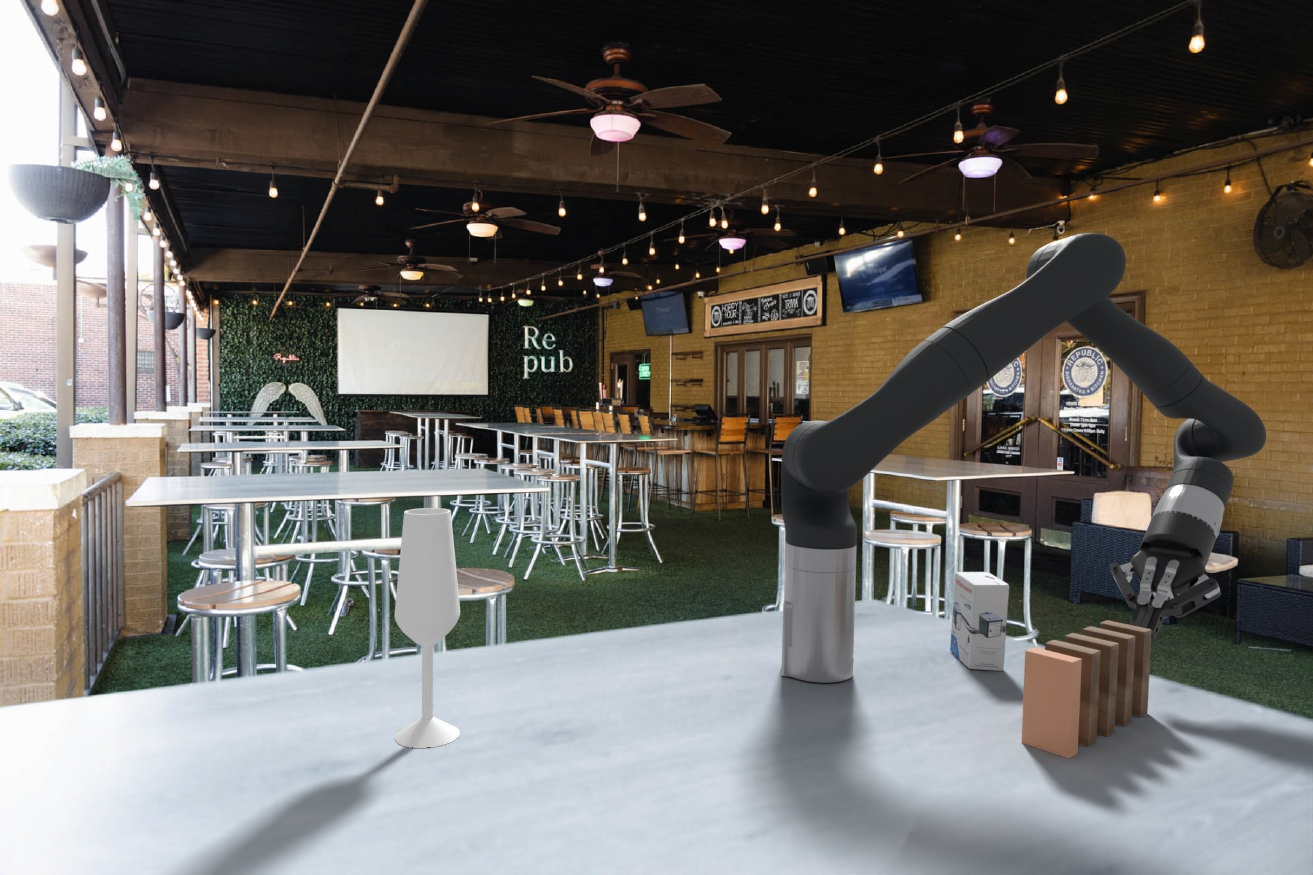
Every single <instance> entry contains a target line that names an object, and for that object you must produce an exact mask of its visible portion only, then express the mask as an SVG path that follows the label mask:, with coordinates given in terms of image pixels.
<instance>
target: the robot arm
mask: <svg viewBox="0 0 1313 875" xmlns="http://www.w3.org/2000/svg"><path fill="white" fill-rule="evenodd" d="M1126 266H1127V258H1126V254H1125V250H1124V248H1123V247H1122V245H1121V244H1120V243H1119V241H1117V239H1115V238H1114V237H1111V236H1109V235H1107V234H1104V233H1100V232H1083V233H1077V234H1074V235H1071V236H1068V237H1064V238H1062V239H1058V240H1055V241H1053V242H1052V241H1051V242H1049V243H1047V244H1045V245H1044V246H1042V247H1039V248H1038V249H1037V250H1036V251H1035V252H1034V253H1033V254H1032V256H1031V257H1030V260H1029V261H1028V263H1027V266H1026V279H1025V280H1024V281H1023V282H1022V283H1020V284H1019V285H1017V286H1016V287H1014V288H1012V289H1010V290H1009V291H1007V292H1004V293H1003V294H1001V295H999V296H996V297H995V298H993V299H990V300H988V301H986V302H985V303H982V304H980V305H978V306H976V307H974V308H972V309H971V310H969V311H967V312H965V313H963V314H961V315H960V316H957V317H956V318H955V319H953V320H951V321H949V322H947V323H946V324H944V325H943V326H942V327H940V328H939V329H938V330H936V331H934V332H933V333H932V334H931V335H929V336H928V337H927V338H925V339H924V340H923V341H921V342H920V343H918V344H917V346H915V347H914V348H912V350H911V351H910V352H908V354H907V355H905V357H904V358H902V359H901V361H900V362H899V363H898V364H897V365H896V367H895V368H894V369H893V371H892V372H891V373H890V375H889V376H888V377H887V378H886V379H885V381H884V382H883V383H882V384H881V386H880V387H878V389H876V390H875V391H874V392H872V394H871V395H869V396H868V397H866V398H865V399H864V400H862V401H861V402H859V403H857V404H856V405H855V406H853V407H851V408H850V409H848V410H846V411H845V412H844V413H842V414H840V415H838V416H836V417H834V418H832V419H830V420H829V421H827V420H810V421H809V420H808V421H806V422H803V423H800V424H798V425H797V426H795V427H794V428H793V429H792V430H791V432H790V433H789V435H788V436H787V437H786V439H785V442H784V445H783V447H782V448H783V449H782V452H781V454H782V455H781V468H780V469H781V471H780V472H781V474H780V476H781V477H780V478H781V479H780V480H781V483H780V486H781V490H780V491H781V493H780V494H781V516H782V520H783V525H784V532H785V533H784V534H785V536H784V537H785V538H784V539H785V540H784V541H785V543H784V544H785V545H784V546H785V548H784V578H783V579H784V581H783V582H784V583H783V584H784V586H783V605H782V633H781V634H782V635H781V636H782V638H781V639H782V640H781V641H782V643H781V676H783V677H788V678H789V677H790V678H793V679H797V680H801V681H805V682H810V683H811V682H812V683H827V684H828V683H838V682H839V683H840V682H843V681H847V680H849V679H851V678H852V677H853V675H854V661H855V657H854V646H855V619H856V618H855V615H856V614H855V612H856V611H855V608H856V580H857V579H856V576H857V544H858V543H857V542H858V540H857V538H858V530H857V529H858V528H857V524H856V522H855V519H854V517H853V515H852V513H851V509H850V503H849V490H850V489H851V488H853V487H855V486H856V485H857V484H858V483H859V482H861V481H862V480H863V479H864V478H865V477H867V475H868V474H870V473H871V472H872V471H873V470H874V469H875V468H876V467H877V466H878V465H879V464H880V463H881V462H883V461H884V459H886V457H888V456H889V455H891V453H892V452H893V451H894V450H895V449H896V448H898V447H899V446H900V445H901V444H902V443H904V442H905V441H906V440H907V439H909V437H911V436H913V435H914V434H915V433H917V432H918V431H920V430H922V429H923V428H924V427H926V426H928V425H930V423H932V422H934V421H935V420H936V419H938V418H939V417H940V416H942V415H944V414H945V413H946V412H948V411H949V410H950V409H951V408H953V407H954V406H956V405H957V404H959V403H960V402H962V401H963V400H965V399H966V398H967V397H969V396H970V395H971V394H973V393H974V392H976V391H977V390H978V389H980V388H981V387H982V386H984V385H985V384H986V383H987V382H989V381H990V380H992V379H993V377H995V376H996V375H997V374H999V373H1000V372H1001V371H1002V370H1004V369H1005V368H1007V367H1008V366H1009V365H1010V364H1012V362H1014V361H1016V360H1017V359H1018V358H1020V357H1021V356H1022V355H1023V354H1025V353H1026V352H1027V351H1028V350H1029V349H1030V348H1032V347H1033V346H1034V345H1036V343H1038V342H1039V341H1040V340H1041V339H1042V338H1044V337H1045V336H1046V335H1048V334H1049V333H1050V332H1051V331H1053V330H1055V329H1056V328H1058V327H1059V326H1061V325H1062V324H1064V323H1066V324H1069V325H1070V327H1072V328H1073V329H1074V330H1075V331H1077V332H1078V333H1079V334H1080V335H1082V336H1083V337H1084V338H1085V339H1087V341H1089V342H1090V344H1093V345H1094V346H1095V347H1096V349H1098V350H1099V351H1100V352H1101V353H1103V354H1104V355H1105V356H1106V358H1108V359H1109V360H1111V362H1112V363H1113V364H1114V365H1115V366H1116V367H1117V368H1118V369H1119V370H1120V371H1121V372H1122V373H1124V375H1126V376H1127V378H1128V379H1129V380H1130V381H1131V382H1132V383H1133V384H1134V385H1135V387H1136V388H1138V389H1139V391H1140V392H1141V393H1142V394H1143V395H1144V396H1145V398H1146V399H1147V400H1148V401H1149V402H1150V403H1151V404H1152V405H1153V406H1154V407H1155V409H1156V410H1158V412H1159V413H1161V415H1163V416H1164V417H1166V418H1169V419H1175V420H1177V419H1179V420H1180V419H1185V420H1184V422H1182V423H1181V424H1180V426H1178V428H1177V429H1176V431H1175V433H1174V437H1173V463H1172V464H1173V466H1172V468H1173V470H1172V471H1173V472H1172V474H1171V476H1170V479H1169V481H1168V484H1167V485H1166V489H1165V491H1164V493H1163V495H1162V496H1161V498H1160V500H1158V503H1157V505H1156V507H1155V510H1154V512H1153V513H1152V514H1153V515H1152V517H1151V519H1150V522H1149V524H1148V526H1147V529H1146V530H1145V533H1144V536H1143V538H1142V541H1141V544H1140V546H1139V550H1138V552H1137V553H1136V554H1133V556H1132V557H1131V559H1130V561H1129V562H1127V563H1124V564H1121V565H1120V563H1118V562H1112V563H1110V564H1109V566H1108V567H1109V570H1110V572H1111V574H1112V576H1113V579H1114V581H1115V583H1116V585H1117V587H1118V589H1119V591H1120V592H1121V594H1122V596H1123V598H1124V600H1125V602H1126V604H1127V606H1128V607H1129V609H1131V610H1133V609H1134V612H1133V615H1132V617H1131V620H1130V622H1129V625H1132V626H1137V627H1142V628H1147V629H1151V639H1156V637H1158V634H1159V633H1160V630H1161V627H1162V624H1163V622H1164V619H1166V618H1167V617H1170V616H1171V617H1172V616H1174V617H1175V618H1178V619H1182V618H1183V617H1186V616H1188V615H1189V614H1191V613H1193V612H1195V611H1196V610H1198V609H1200V608H1201V607H1204V606H1206V605H1207V604H1209V603H1211V602H1212V601H1215V600H1216V599H1219V598H1220V597H1221V595H1222V593H1221V589H1220V586H1219V583H1218V581H1217V579H1216V578H1213V577H1209V576H1208V572H1207V569H1206V566H1207V564H1208V562H1209V559H1210V556H1211V554H1212V551H1213V549H1214V546H1215V542H1216V540H1217V538H1218V537H1219V536H1220V531H1221V526H1222V522H1223V517H1224V513H1225V509H1226V506H1227V503H1228V500H1229V497H1231V493H1232V491H1233V490H1232V489H1233V485H1234V479H1235V478H1234V475H1233V472H1232V470H1231V469H1230V468H1229V466H1227V465H1226V464H1225V462H1229V461H1235V460H1240V459H1244V458H1249V457H1252V456H1254V455H1257V453H1259V452H1260V451H1262V449H1263V448H1264V447H1265V445H1266V441H1267V431H1266V430H1267V429H1266V427H1265V425H1264V422H1263V420H1262V419H1261V416H1259V414H1257V413H1256V411H1255V410H1253V409H1252V408H1251V407H1250V406H1249V405H1248V404H1246V403H1245V402H1243V401H1242V400H1240V399H1239V398H1237V397H1235V396H1234V395H1232V394H1231V393H1229V392H1227V391H1226V390H1224V388H1221V387H1219V386H1218V385H1217V384H1214V383H1213V382H1212V381H1209V379H1207V378H1206V377H1205V376H1204V375H1203V374H1202V372H1200V370H1199V369H1198V368H1197V366H1195V364H1193V362H1192V361H1191V360H1190V359H1189V357H1187V356H1186V355H1185V353H1184V352H1183V351H1181V349H1179V347H1177V345H1175V344H1173V343H1172V342H1171V341H1170V340H1168V339H1167V338H1166V337H1164V336H1163V335H1161V334H1160V333H1159V332H1156V331H1154V330H1153V329H1152V328H1150V327H1148V326H1147V325H1145V324H1143V323H1142V322H1141V321H1138V320H1137V319H1135V318H1134V317H1133V316H1131V315H1129V314H1128V313H1127V312H1126V311H1125V310H1123V309H1122V308H1120V306H1118V305H1117V304H1116V303H1115V302H1114V301H1113V300H1112V299H1111V298H1110V297H1109V296H1111V294H1112V293H1113V292H1114V291H1115V290H1116V289H1117V288H1118V286H1119V285H1120V283H1121V282H1122V280H1123V277H1124V275H1125V273H1126ZM1133 573H1135V575H1136V577H1137V579H1138V582H1139V583H1140V584H1139V587H1140V589H1139V593H1138V594H1136V593H1135V592H1134V590H1133V587H1132V586H1131V585H1130V582H1131V580H1132V579H1133Z"/></svg>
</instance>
